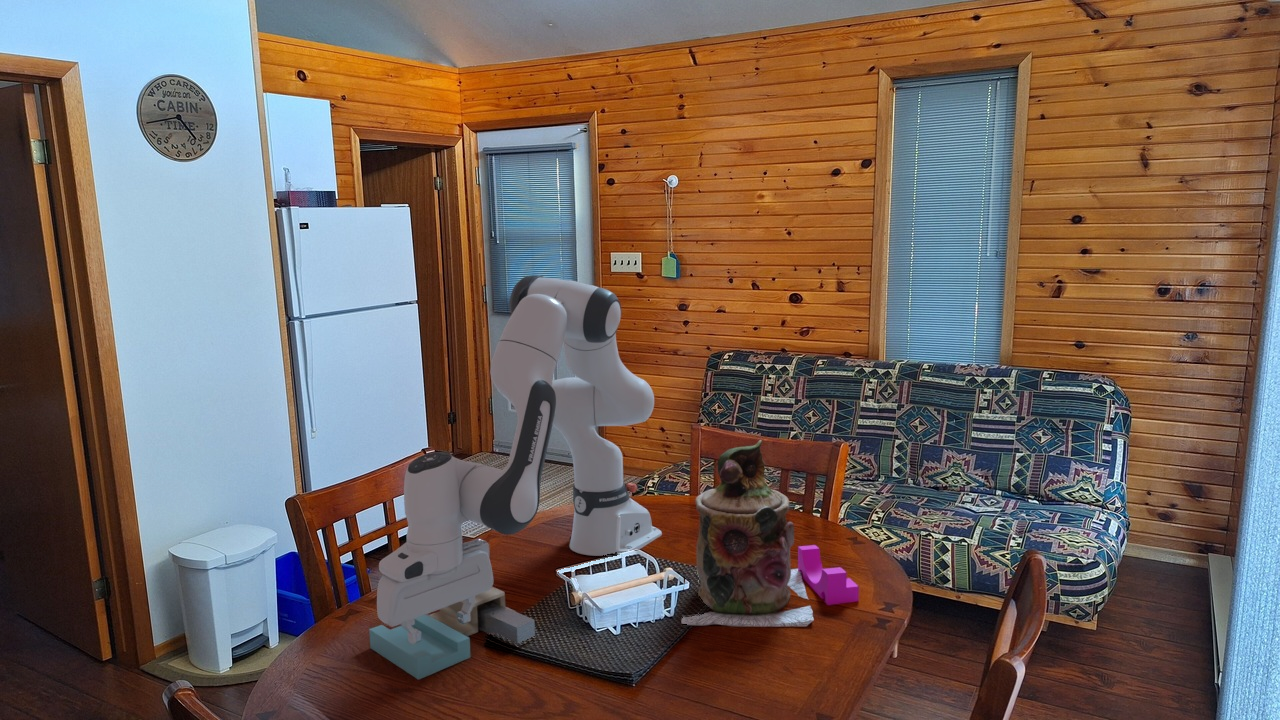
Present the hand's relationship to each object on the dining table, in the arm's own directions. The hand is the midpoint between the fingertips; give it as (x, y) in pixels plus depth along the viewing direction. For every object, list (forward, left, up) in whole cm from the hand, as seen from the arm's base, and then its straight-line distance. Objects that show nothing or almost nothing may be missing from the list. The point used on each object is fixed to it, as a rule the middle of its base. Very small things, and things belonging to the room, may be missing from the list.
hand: (440, 631), depth 138 cm
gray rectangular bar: (-14, -7, -6) cm, 17 cm away
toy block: (-67, +32, -6) cm, 75 cm away
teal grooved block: (0, -7, -6) cm, 9 cm away
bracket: (-14, -11, -6) cm, 19 cm away
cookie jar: (-54, +23, -6) cm, 58 cm away
